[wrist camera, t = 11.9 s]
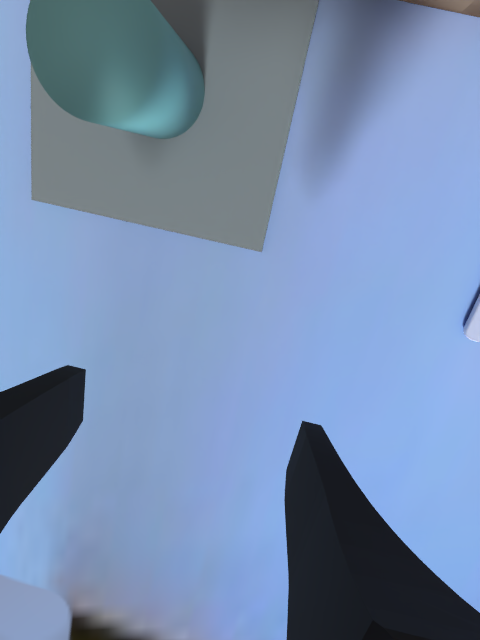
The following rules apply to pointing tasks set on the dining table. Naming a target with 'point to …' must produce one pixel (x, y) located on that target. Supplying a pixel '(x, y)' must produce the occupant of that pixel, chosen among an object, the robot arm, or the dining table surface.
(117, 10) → the peg
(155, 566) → the dining table surface
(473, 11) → the holder block
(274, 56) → the slate mat
